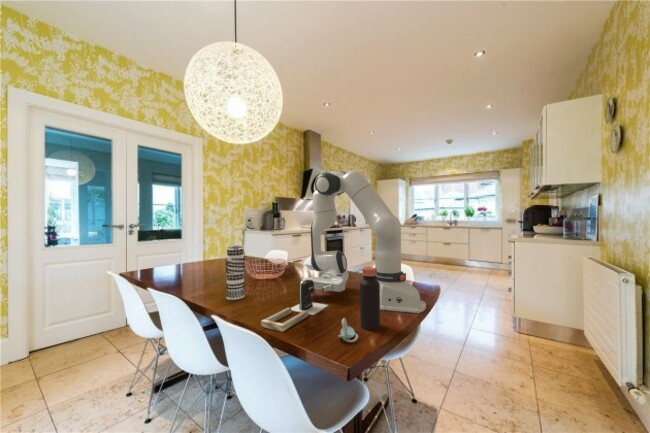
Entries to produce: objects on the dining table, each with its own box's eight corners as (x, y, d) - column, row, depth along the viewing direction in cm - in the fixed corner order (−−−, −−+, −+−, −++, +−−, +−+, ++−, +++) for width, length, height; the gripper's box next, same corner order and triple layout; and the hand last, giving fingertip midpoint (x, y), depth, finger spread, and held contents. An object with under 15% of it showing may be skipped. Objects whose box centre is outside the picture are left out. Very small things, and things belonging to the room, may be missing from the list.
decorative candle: (249, 294, 129) (248, 244, 130) (238, 300, 120) (238, 246, 121) (232, 293, 131) (232, 244, 132) (221, 299, 122) (221, 246, 123)
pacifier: (359, 335, 84) (341, 332, 86) (360, 315, 84) (342, 313, 86) (356, 345, 77) (336, 342, 79) (356, 324, 77) (337, 322, 79)
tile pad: (328, 305, 112) (328, 305, 112) (313, 315, 101) (313, 314, 101) (304, 301, 117) (304, 301, 117) (288, 310, 107) (288, 309, 107)
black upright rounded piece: (306, 311, 104) (306, 282, 104) (298, 309, 106) (298, 281, 106) (315, 306, 110) (315, 279, 110) (307, 304, 112) (307, 278, 112)
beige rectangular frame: (307, 316, 100) (307, 311, 100) (282, 331, 86) (282, 325, 86) (288, 312, 104) (288, 307, 104) (261, 326, 91) (261, 320, 91)
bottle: (364, 321, 95) (364, 266, 95) (382, 324, 91) (382, 267, 91) (357, 328, 89) (356, 269, 89) (376, 332, 85) (375, 271, 85)
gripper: (310, 272, 130) (294, 278, 118) (348, 276, 121) (334, 283, 108) (310, 285, 130) (294, 292, 118) (348, 290, 120) (335, 298, 108)
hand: (314, 287), depth 113 cm, fingers open, 8 cm apart
